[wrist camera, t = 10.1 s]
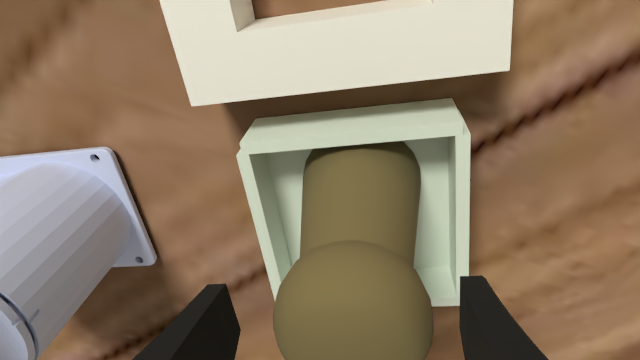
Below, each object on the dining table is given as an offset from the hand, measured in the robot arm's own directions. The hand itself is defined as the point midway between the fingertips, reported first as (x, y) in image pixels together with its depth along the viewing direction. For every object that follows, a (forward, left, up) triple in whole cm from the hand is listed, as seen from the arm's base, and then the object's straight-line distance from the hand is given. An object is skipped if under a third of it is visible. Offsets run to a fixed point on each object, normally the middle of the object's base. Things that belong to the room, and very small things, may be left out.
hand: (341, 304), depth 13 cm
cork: (0, -1, -10) cm, 10 cm away
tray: (0, -3, -10) cm, 11 cm away
